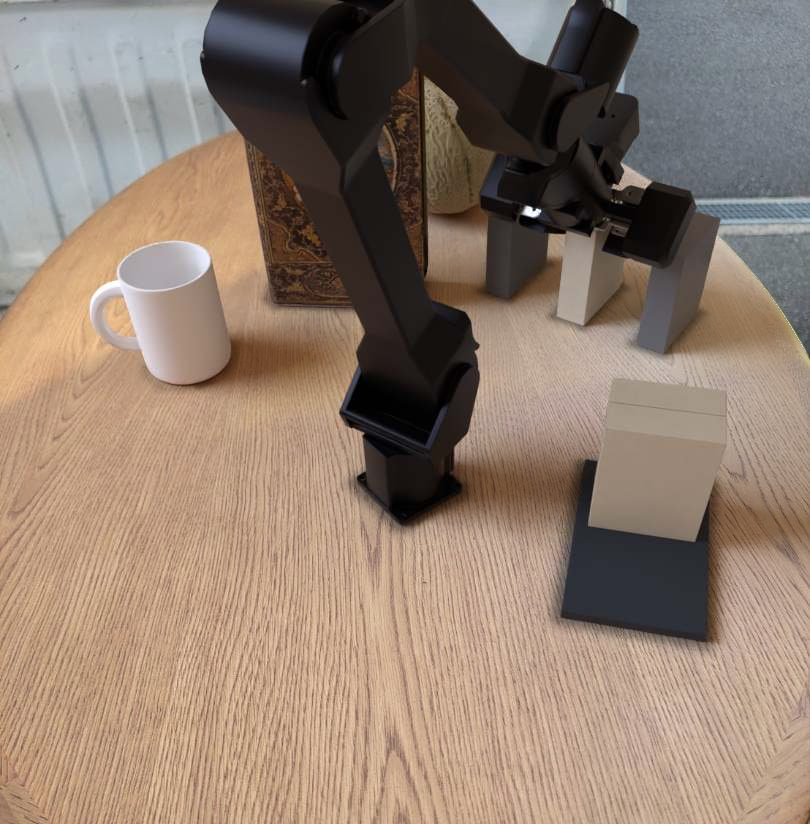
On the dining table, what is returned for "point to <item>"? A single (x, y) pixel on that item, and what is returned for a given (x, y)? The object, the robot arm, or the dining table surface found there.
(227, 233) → the dining table surface
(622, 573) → the book mat
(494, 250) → the grey books
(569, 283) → the cream book
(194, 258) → the mug
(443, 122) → the cantaloupe
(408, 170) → the book
